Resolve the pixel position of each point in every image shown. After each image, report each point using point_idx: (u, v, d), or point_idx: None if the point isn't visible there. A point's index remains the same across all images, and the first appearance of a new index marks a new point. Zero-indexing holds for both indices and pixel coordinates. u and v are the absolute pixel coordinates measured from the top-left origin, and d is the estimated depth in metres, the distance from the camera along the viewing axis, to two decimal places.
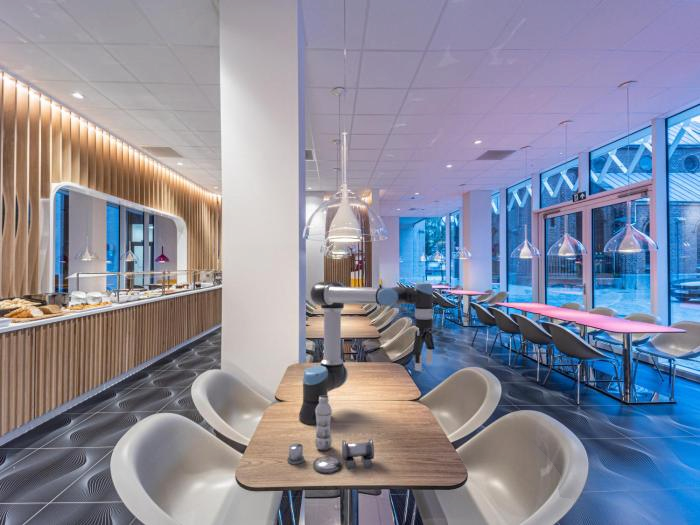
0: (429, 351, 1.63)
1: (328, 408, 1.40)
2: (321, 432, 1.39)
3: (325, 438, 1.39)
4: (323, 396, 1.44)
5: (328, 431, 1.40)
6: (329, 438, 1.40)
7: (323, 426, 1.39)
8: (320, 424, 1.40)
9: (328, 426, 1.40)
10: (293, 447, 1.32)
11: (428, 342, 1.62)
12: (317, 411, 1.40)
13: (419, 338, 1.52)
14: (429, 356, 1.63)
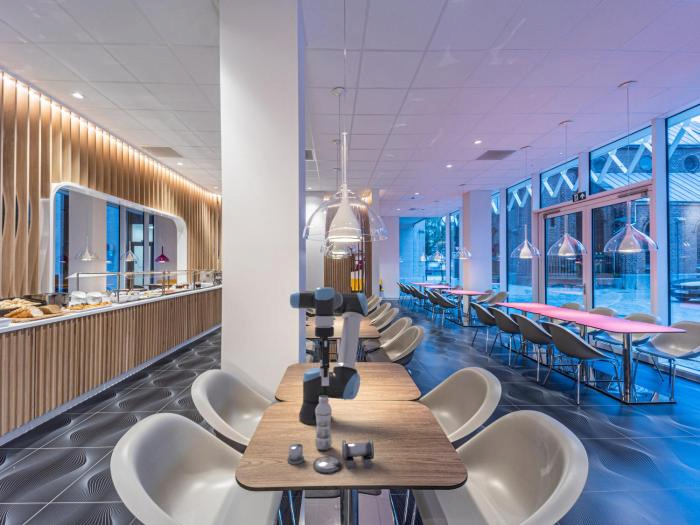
0: None
1: (328, 408, 1.40)
2: (321, 432, 1.39)
3: (325, 438, 1.39)
4: (323, 396, 1.44)
5: (328, 431, 1.40)
6: (329, 438, 1.40)
7: (323, 426, 1.39)
8: (320, 424, 1.40)
9: (328, 426, 1.40)
10: (293, 447, 1.32)
11: None
12: (317, 411, 1.40)
13: (327, 349, 1.36)
14: None
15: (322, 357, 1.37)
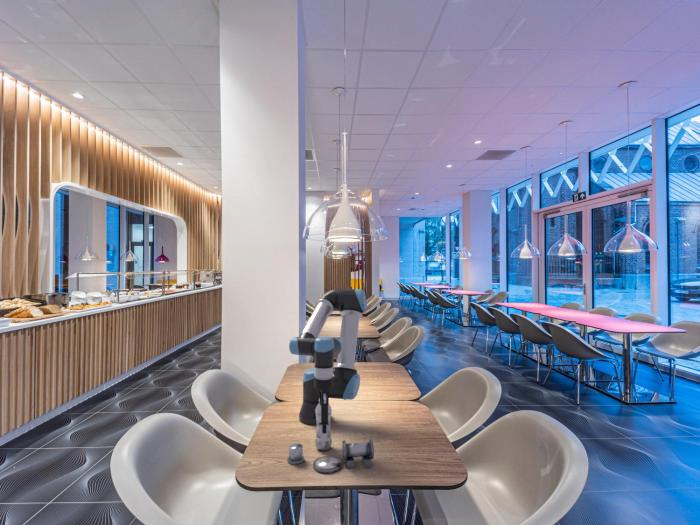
0: None
1: (328, 408, 1.41)
2: None
3: None
4: None
5: (328, 431, 1.40)
6: (329, 438, 1.40)
7: None
8: None
9: (328, 426, 1.40)
10: (293, 447, 1.32)
11: None
12: (317, 411, 1.40)
13: (326, 406, 1.36)
14: None
15: (321, 413, 1.38)
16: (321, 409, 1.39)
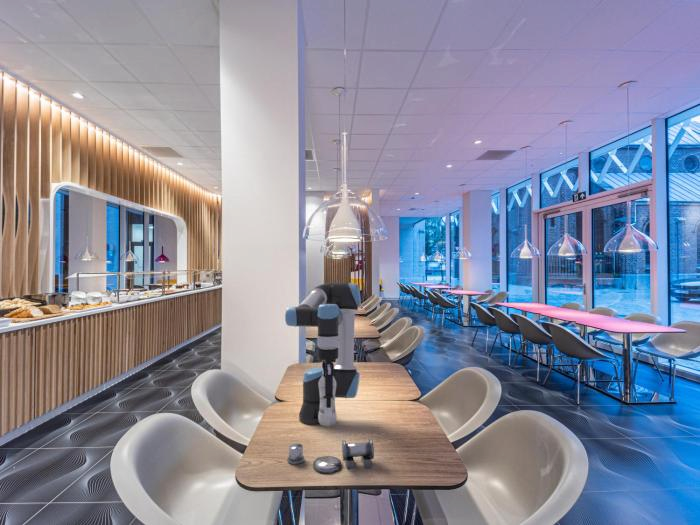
0: None
1: None
2: None
3: None
4: None
5: (332, 406, 1.27)
6: (334, 413, 1.27)
7: None
8: (323, 398, 1.27)
9: (332, 400, 1.28)
10: (293, 447, 1.32)
11: None
12: (320, 384, 1.27)
13: (331, 377, 1.24)
14: None
15: (325, 385, 1.26)
16: (325, 381, 1.26)
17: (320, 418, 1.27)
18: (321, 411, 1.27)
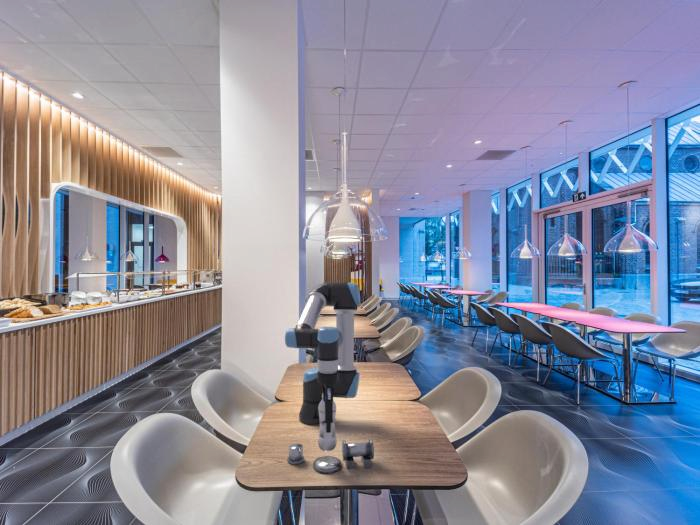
0: None
1: None
2: None
3: None
4: None
5: (332, 430, 1.27)
6: (333, 438, 1.27)
7: None
8: None
9: (332, 424, 1.27)
10: (293, 447, 1.32)
11: None
12: (320, 408, 1.27)
13: (331, 402, 1.23)
14: None
15: None
16: None
17: (320, 443, 1.26)
18: (321, 435, 1.27)
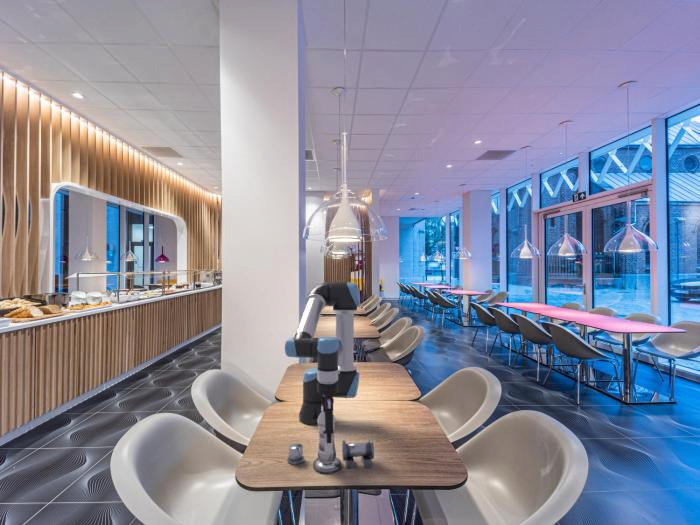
0: None
1: None
2: None
3: None
4: None
5: None
6: (333, 450, 1.27)
7: None
8: (322, 435, 1.27)
9: None
10: (293, 447, 1.32)
11: None
12: (319, 421, 1.27)
13: (331, 411, 1.22)
14: None
15: (325, 419, 1.24)
16: (325, 416, 1.24)
17: (320, 456, 1.27)
18: (320, 449, 1.27)
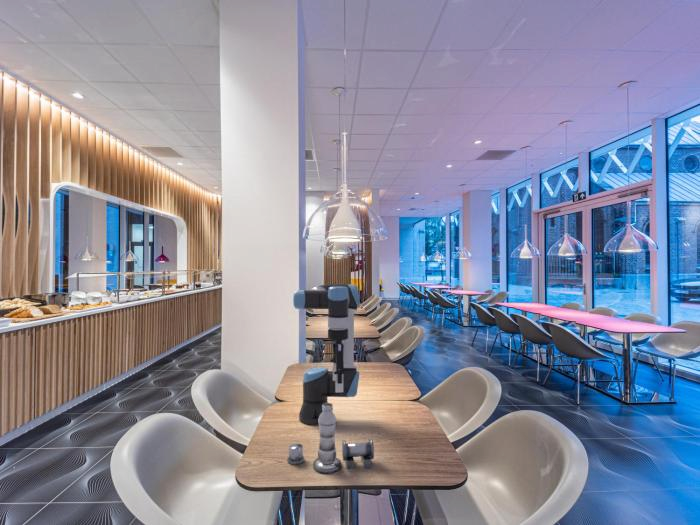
0: None
1: (332, 417, 1.28)
2: (325, 444, 1.26)
3: (329, 451, 1.26)
4: (327, 404, 1.31)
5: (332, 443, 1.27)
6: (333, 450, 1.27)
7: (327, 437, 1.27)
8: (323, 435, 1.27)
9: (332, 437, 1.27)
10: (293, 447, 1.32)
11: None
12: (320, 421, 1.27)
13: (341, 353, 1.27)
14: None
15: None
16: None
17: (320, 455, 1.27)
18: (321, 448, 1.27)
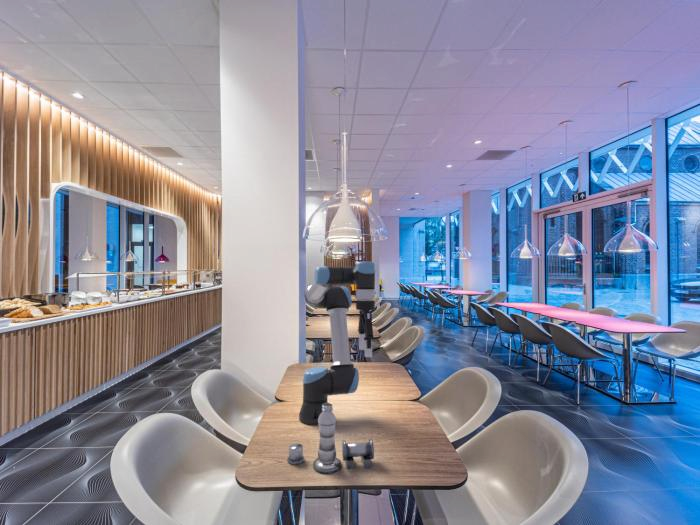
0: (363, 336, 1.51)
1: (332, 417, 1.28)
2: (325, 444, 1.26)
3: (329, 451, 1.26)
4: (326, 404, 1.31)
5: (332, 443, 1.27)
6: (333, 450, 1.27)
7: (327, 437, 1.27)
8: (323, 435, 1.27)
9: (332, 437, 1.27)
10: (293, 447, 1.32)
11: None
12: (320, 421, 1.27)
13: (370, 321, 1.38)
14: (363, 341, 1.51)
15: (365, 329, 1.39)
16: (364, 326, 1.40)
17: (320, 455, 1.27)
18: (321, 448, 1.27)
